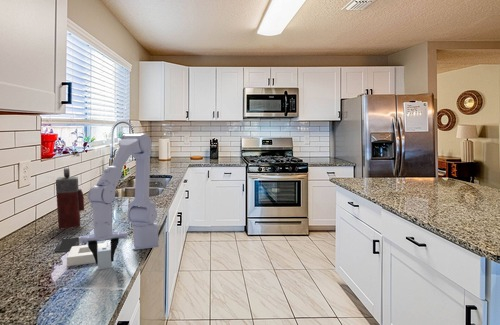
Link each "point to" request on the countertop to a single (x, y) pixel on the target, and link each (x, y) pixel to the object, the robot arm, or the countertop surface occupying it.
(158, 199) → the countertop surface
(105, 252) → the block
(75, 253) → the block
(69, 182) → the dark red french press
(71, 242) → the phone
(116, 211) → the countertop surface
